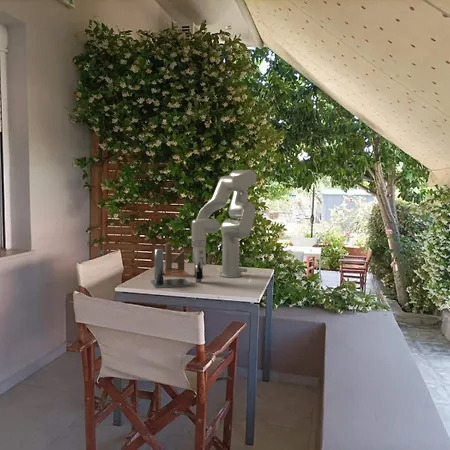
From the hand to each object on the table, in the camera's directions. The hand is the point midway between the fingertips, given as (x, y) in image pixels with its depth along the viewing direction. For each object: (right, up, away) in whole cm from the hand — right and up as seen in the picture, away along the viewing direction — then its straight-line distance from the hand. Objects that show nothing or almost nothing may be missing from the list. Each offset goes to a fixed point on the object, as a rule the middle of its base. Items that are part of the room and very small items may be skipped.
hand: (198, 277), depth 231 cm
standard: (-14, -3, -6) cm, 15 cm away
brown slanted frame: (-15, -1, +18) cm, 24 cm away
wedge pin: (0, -2, 0) cm, 2 cm away
